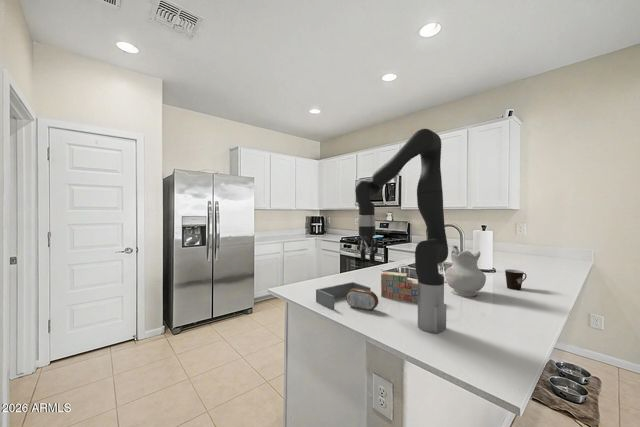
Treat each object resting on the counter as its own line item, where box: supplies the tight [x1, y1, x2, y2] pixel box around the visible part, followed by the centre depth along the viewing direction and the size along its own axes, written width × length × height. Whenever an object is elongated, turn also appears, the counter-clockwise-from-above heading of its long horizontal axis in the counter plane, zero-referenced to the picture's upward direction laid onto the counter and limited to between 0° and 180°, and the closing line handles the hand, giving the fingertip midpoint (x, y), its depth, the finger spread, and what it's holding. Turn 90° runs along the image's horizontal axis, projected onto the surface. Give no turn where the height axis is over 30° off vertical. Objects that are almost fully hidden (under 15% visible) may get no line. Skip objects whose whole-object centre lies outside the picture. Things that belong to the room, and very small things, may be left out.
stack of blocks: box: [380, 270, 418, 303], centre depth 137 cm, size 21×6×12 cm, turn 62°
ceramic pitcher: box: [444, 245, 487, 298], centre depth 146 cm, size 22×20×25 cm
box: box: [315, 281, 371, 311], centre depth 133 cm, size 13×24×6 cm, turn 125°
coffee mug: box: [504, 268, 527, 291], centre depth 154 cm, size 12×9×10 cm
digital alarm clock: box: [345, 288, 379, 311], centre depth 123 cm, size 15×3×8 cm, turn 59°
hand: (367, 261), depth 122 cm, fingers open, 8 cm apart
